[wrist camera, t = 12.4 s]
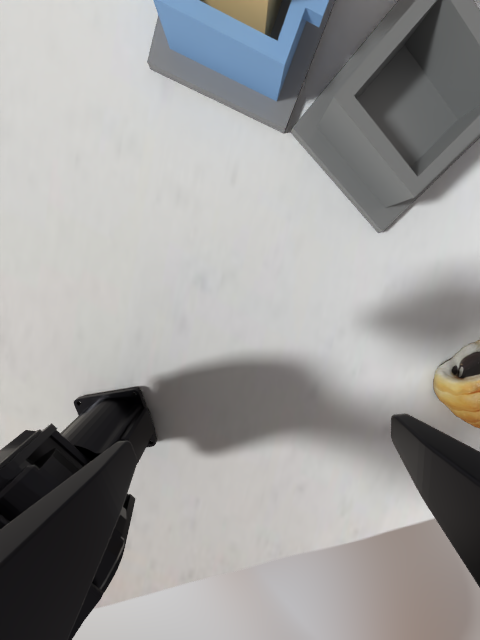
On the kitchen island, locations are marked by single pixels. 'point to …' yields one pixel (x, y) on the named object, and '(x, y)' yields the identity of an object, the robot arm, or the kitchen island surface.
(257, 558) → the kitchen island surface
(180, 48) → the blue bezel socket
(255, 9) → the tall tan pillar
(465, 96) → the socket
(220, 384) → the kitchen island surface
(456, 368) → the pastry
